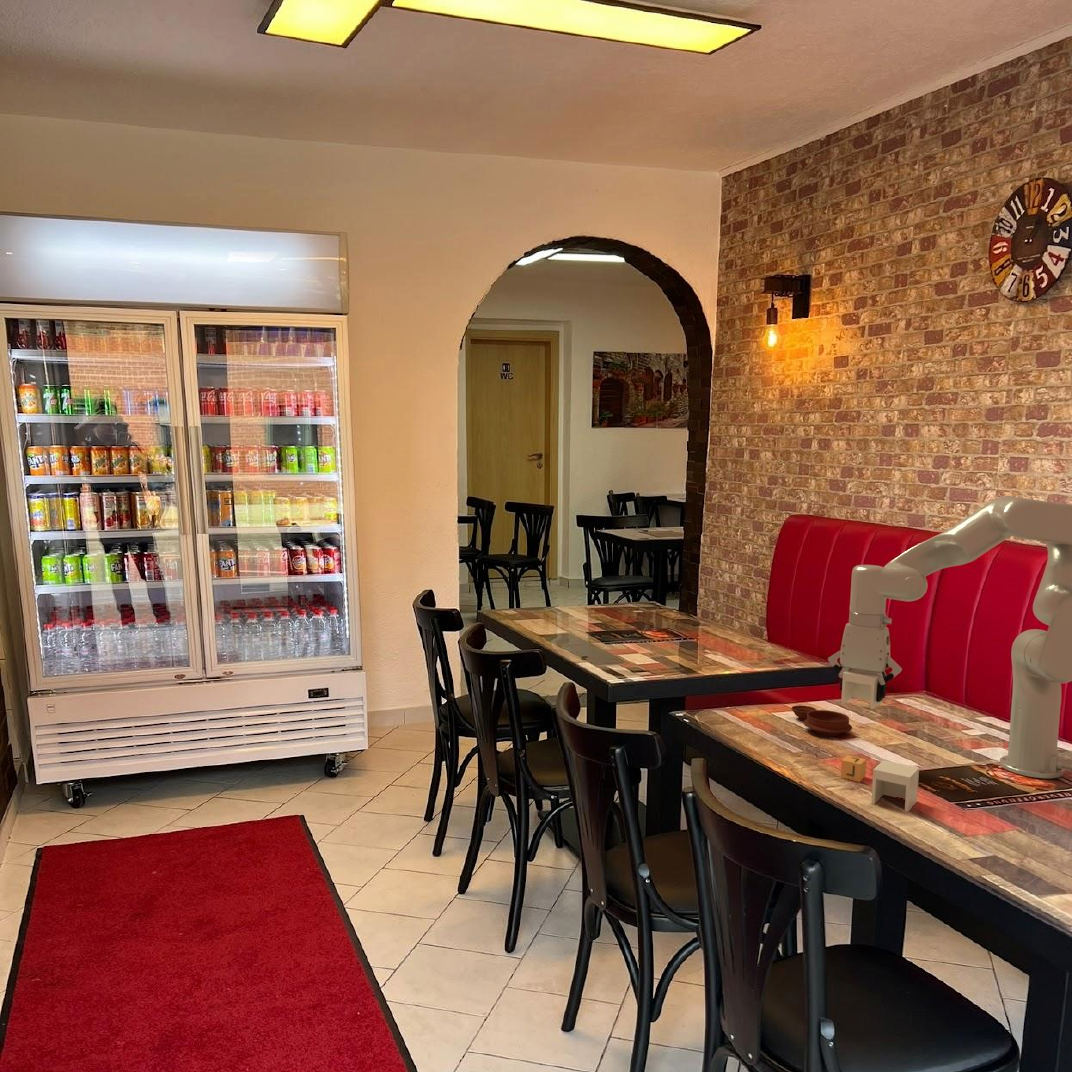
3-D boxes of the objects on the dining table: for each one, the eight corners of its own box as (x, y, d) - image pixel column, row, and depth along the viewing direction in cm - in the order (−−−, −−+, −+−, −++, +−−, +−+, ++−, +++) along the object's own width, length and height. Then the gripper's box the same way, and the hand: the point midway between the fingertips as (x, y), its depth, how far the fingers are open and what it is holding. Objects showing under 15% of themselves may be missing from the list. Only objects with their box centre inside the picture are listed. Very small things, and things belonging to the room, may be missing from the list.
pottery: (819, 741, 219) (820, 724, 218) (777, 717, 238) (778, 701, 238) (861, 738, 222) (862, 721, 221) (816, 715, 241) (817, 699, 241)
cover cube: (882, 702, 204) (883, 672, 203) (872, 708, 198) (874, 677, 198) (850, 696, 208) (852, 667, 207) (841, 703, 202) (843, 672, 202)
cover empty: (917, 801, 182) (919, 767, 181) (907, 812, 176) (910, 777, 175) (881, 792, 186) (883, 760, 185) (871, 803, 180) (873, 769, 179)
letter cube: (865, 777, 195) (866, 759, 195) (859, 782, 192) (860, 764, 191) (846, 773, 197) (847, 755, 197) (840, 778, 194) (841, 760, 194)
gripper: (911, 623, 199) (906, 701, 201) (833, 613, 210) (829, 687, 211) (902, 627, 193) (897, 708, 195) (822, 617, 204) (818, 694, 205)
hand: (862, 697), depth 203 cm, fingers closed on cover cube, 7 cm apart
